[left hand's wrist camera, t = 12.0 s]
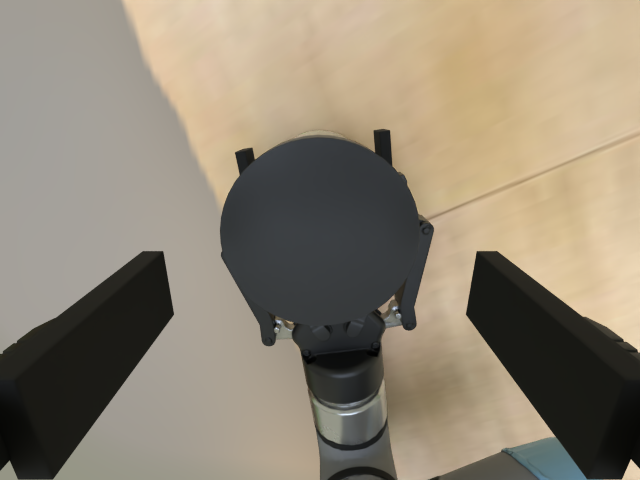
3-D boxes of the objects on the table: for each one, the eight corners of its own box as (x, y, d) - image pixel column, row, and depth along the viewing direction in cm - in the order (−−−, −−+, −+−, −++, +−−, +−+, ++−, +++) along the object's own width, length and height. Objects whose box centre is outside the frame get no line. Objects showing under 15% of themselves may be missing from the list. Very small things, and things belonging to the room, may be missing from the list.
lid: (195, 229, 20) (179, 243, 18) (317, 90, 17) (316, 86, 15) (322, 332, 22) (322, 356, 20) (445, 224, 20) (461, 238, 17)
